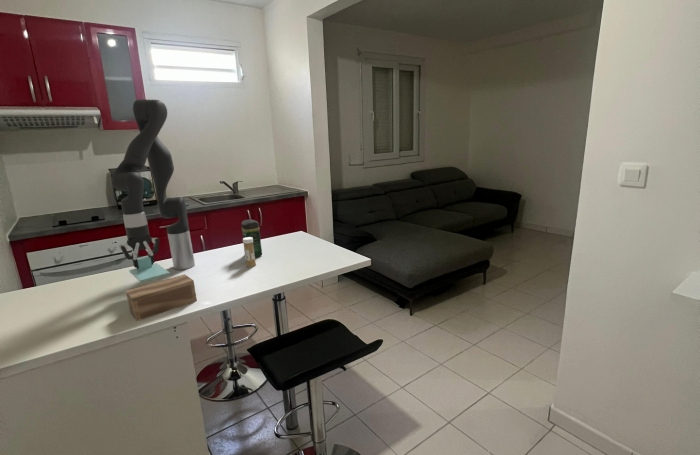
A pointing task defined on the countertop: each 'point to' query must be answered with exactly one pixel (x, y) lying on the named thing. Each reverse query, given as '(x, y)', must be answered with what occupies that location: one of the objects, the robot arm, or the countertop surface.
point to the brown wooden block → (161, 296)
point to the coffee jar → (252, 235)
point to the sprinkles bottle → (249, 251)
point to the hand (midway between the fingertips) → (144, 266)
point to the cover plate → (148, 270)
